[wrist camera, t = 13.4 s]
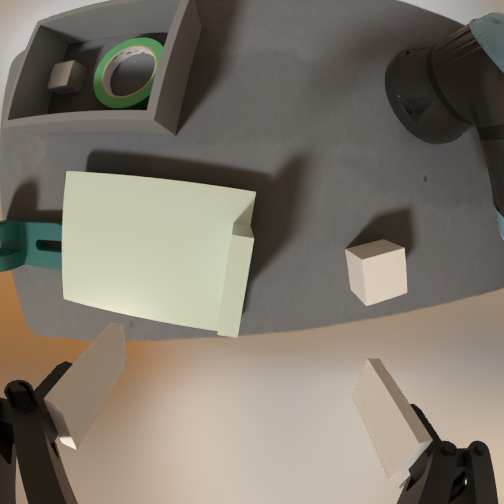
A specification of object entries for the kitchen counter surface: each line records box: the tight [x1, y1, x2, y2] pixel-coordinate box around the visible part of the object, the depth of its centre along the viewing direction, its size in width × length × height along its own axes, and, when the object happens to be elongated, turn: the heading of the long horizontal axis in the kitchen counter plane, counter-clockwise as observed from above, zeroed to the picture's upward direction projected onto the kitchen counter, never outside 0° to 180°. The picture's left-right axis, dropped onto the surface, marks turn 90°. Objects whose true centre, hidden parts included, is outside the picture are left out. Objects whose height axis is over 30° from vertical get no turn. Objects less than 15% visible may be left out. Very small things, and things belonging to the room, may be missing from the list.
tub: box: [2, 0, 202, 136], centre depth 26 cm, size 24×17×9 cm
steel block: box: [47, 60, 87, 94], centre depth 28 cm, size 4×4×4 cm
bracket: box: [0, 220, 62, 272], centre depth 32 cm, size 18×7×8 cm, turn 86°
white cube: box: [345, 239, 407, 306], centre depth 34 cm, size 6×6×6 cm
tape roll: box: [93, 38, 164, 110], centre depth 29 cm, size 11×11×3 cm
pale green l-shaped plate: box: [62, 171, 256, 337], centre depth 30 cm, size 25×18×11 cm
